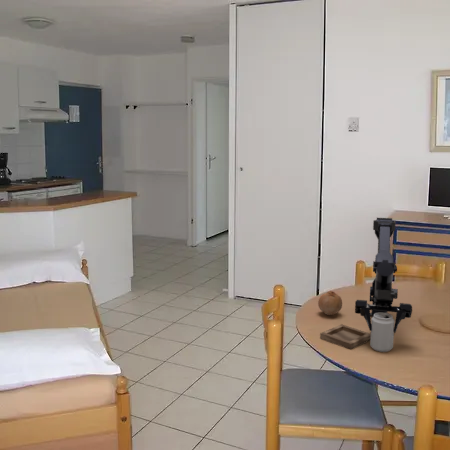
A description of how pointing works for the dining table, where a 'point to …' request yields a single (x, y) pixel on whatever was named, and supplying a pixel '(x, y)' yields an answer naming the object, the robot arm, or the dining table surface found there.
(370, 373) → the dining table surface
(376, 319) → the can
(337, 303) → the onion
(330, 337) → the brown wooden tray
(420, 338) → the dining table surface
